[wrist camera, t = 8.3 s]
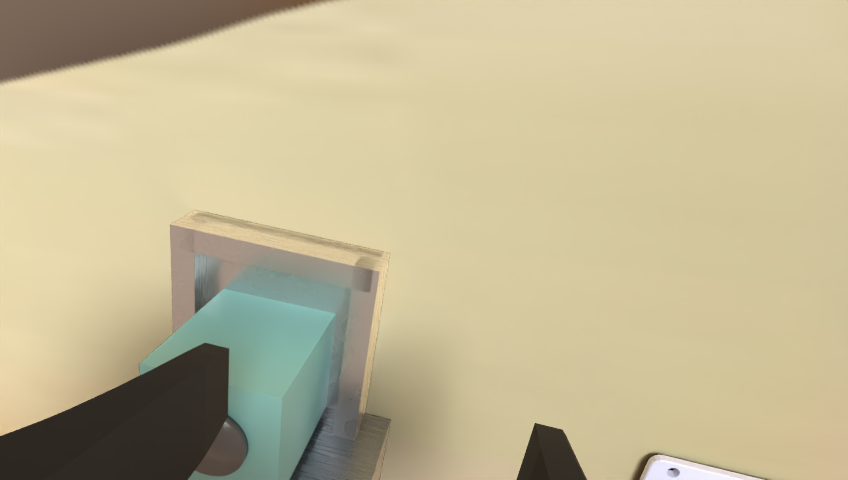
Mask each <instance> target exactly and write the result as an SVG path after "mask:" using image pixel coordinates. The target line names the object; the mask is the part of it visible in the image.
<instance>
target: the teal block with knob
mask: <svg viewBox="0 0 848 480" xmlns="http://www.w3.org/2000/svg"><path fill="white" fill-rule="evenodd" d="M335 315H336V314H334V313H330V312H325V311H321V310H316V309H312V308H308V307H303V306H299V305H294V304H290V303H285V302H281V301H276V300H272V299H267V298H263V297H258V296H254V295H249V294H245V293H241V292H236V291H232V290H227V289H223V290H222V291H221V292H219V293H218V294H217V295H216V296H215V297H214V298H213V299H212V300H210V301H209V302H208V303H207V304H206V305H205V306H204V307H203V308H201V309H200V310H199V311H198V312H197V313H196V314H195V315H194V316H192V317H191V318H190V319H189V320H188V321H187V322H186V323H185V324H183V325H182V326H181V327H180V328H179V329H178V330H177V331H176V332H174V333H173V334H172V335H171V336H170V337H169V338H168V339H167V340H165V341H164V342H163V343H162V344H161V345H160V346H159V347H158V348H156V349H155V350H154V351H153V352H152V353H151V354H150V355H149V356H147V357H146V358H145V359H144V360H143V361H142V362H141V363H140V364H139V368H140V375H142V374H144V373H146V372H148V371H150V370H152V369H154V368H156V367H158V366H160V365H162V364H164V363H166V362H167V361H169V360H171V359H173V358H175V357H177V356H179V355H181V354H183V353H185V352H187V351H189V350H191V349H193V348H195V347H197V346H199V345H201V344H203V343H209V344H213V345H217V346H221V347H225V348H229V386H228V417H227V419H226V421H225V422H224V424H223V426H222V428H221V430H220V431H219V433H218V435H217V437H216V439H215V440H214V442H213V444H212V445H211V447H210V449H209V450H208V452H207V454H206V456H205V457H204V458H203V460H202V461H201V463H200V464H199V465H198V467H197V468H196V469H195V471H194V472H193V473H192V475H191V476H190V477H189V479H188V480H290V478H291V476H292V474H293V472H294V470H295V468H296V466H297V464H298V462H299V460H300V458H301V456H302V454H303V452H304V450H305V448H306V446H307V444H308V442H309V440H310V438H311V436H312V434H313V432H314V430H315V428H316V426H317V424H318V422H319V420H320V418H321V416H322V414H323V412H324V410H325V408H326V402H327V392H328V383H329V373H330V363H331V353H332V344H333V334H334V324H335Z"/></svg>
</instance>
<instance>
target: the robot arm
mask: <svg viewBox="0 0 848 480" xmlns="http://www.w3.org/2000/svg"><path fill="white" fill-rule="evenodd" d="M228 386H229V348H225V347H221V346H217V345H213V344H209V343H203V344H201V345H199V346H197V347H195V348H193V349H191V350H189V351H187V352H185V353H183V354H181V355H179V356H177V357H175V358H173V359H171V360H169V361H167V362H166V363H164V364H162V365H160V366H158V367H156V368H154V369H152V370H150V371H148V372H146V373H144V374H142V375H140V376H138V377H136V378H134V379H132V380H130V381H128V382H126V383H124V384H122V385H120V386H118V387H116V388H114V389H112V390H110V391H108V392H105V393H103V394H101V395H99V396H97V397H95V398H92V399H90V400H88V401H86V402H84V403H82V404H79V405H77V406H75V407H73V408H71V409H69V410H66V411H64V412H62V413H59V414H57V415H54V416H52V417H49V418H47V419H45V420H42V421H40V422H37V423H34V424H32V425H29V426H26V427H24V428H21V429H19V430H16V431H13V432H11V433H8V434H5V435H2V436H0V480H188V479H189V477H190V476H191V475H192V473H193V472H194V471H195V469H196V468H197V467H198V465H199V464H200V463H201V461H202V460H203V458H204V457H205V456H206V454H207V452H208V450H209V449H210V447H211V445H212V444H213V442H214V440H215V439H216V437H217V435H218V433H219V431H220V430H221V428H222V426H223V424H224V422H225V421H226V419H227V417H228ZM670 468H676V469H674V470H668V469H670ZM517 480H587V479H586V477H585V475H584V473H583V471H582V469H581V466H580V464H579V462H578V460H577V458H576V456H575V454H574V452H573V450H572V447H571V445H570V443H569V441H568V439H567V437H566V435H565V433H564V431H563V430H561V429H557V428H553V427H549V426H545V425H541V424H537V423H535V425H534V428H533V431H532V434H531V437H530V440H529V443H528V446H527V449H526V453H525V456H524V459H523V462H522V465H521V468H520V471H519V474H518V477H517ZM640 480H763V479H759V478H755V477H751V476H747V475H743V474H739V473H734V472H730V471H726V470H722V469H718V468H714V467H710V466H706V465H702V464H698V463H694V462H689V461H685V460H681V459H677V458H673V457H669V456H665V455H655V456H653V457H651V458H650V459H649V460H648V462H647V464H646V466H645V468H644V471H643V473H642V475H641V477H640Z"/></svg>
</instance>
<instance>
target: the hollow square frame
mask: <svg viewBox="0 0 848 480" xmlns="http://www.w3.org/2000/svg"><path fill="white" fill-rule="evenodd" d="M170 241H171V276H172V311H173V333H174V332H176V331H177V330H178V329H179V328H180V327H181V326H182V325H183V324H185V323H186V322H187V321H188V320H189V319H190V318H191V317H192V316H194V315H195V314H196V313H197V312H198V311H199V310H200V309H201V308H203V307H204V306H205V305H206V304H207V303H208V302H209V301H210V300H212V299H213V298H214V297H215V296H216V295H217V294H218V293H219V292H221V291H222V290H223V289H227V290H232V291H236V292H241V293H245V294H249V295H254V296H258V297H263V298H267V299H272V300H276V301H281V302H285V303H290V304H294V305H299V306H303V307H308V308H312V309H316V310H321V311H325V312H330V313H334V314H336V315H335V324H334V334H333V344H332V353H331V363H330V373H329V383H328V392H327V402H326V408H325V410H324V412H323V414H322V416H321V418H320V420H319V422H318V424H317V426H316V428H315V430H314V432H313V434H312V436H311V438H310V440H309V442H308V444H307V446H306V448H305V450H304V452H303V454H302V456H301V458H300V460H299V462H298V464H297V466H296V468H295V470H294V472H293V474H292V476H291V478H290V480H380V475H381V469H382V464H383V458H384V453H385V447H386V442H387V436H388V431H389V425H390V420H389V419H385V418H381V417H377V416H373V415H369V414H365V410H366V404H367V397H368V391H369V385H370V378H371V372H372V365H373V359H374V353H375V346H376V340H377V333H378V327H379V321H380V314H381V308H382V301H383V295H384V289H385V282H386V276H387V269H388V263H389V256H390V253H387V252H383V251H378V250H374V249H369V248H365V247H360V246H356V245H351V244H347V243H342V242H338V241H333V240H329V239H324V238H320V237H315V236H311V235H306V234H302V233H297V232H293V231H288V230H284V229H279V228H275V227H270V226H266V225H261V224H257V223H252V222H248V221H243V220H239V219H234V218H230V217H225V216H221V215H216V214H212V213H207V212H203V211H198V210H195V211H193V212H191V213H189V214H188V215H186V216H184V217H182V218H181V219H179V220H177V221H175V222H173V223H172V224H170Z"/></svg>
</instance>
